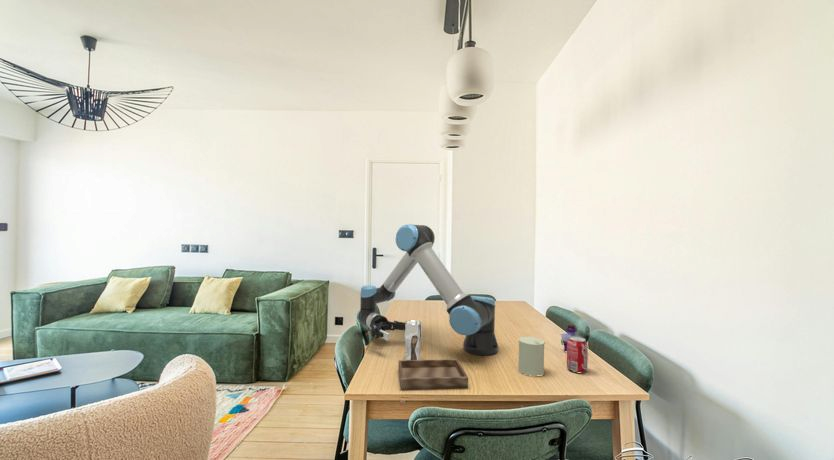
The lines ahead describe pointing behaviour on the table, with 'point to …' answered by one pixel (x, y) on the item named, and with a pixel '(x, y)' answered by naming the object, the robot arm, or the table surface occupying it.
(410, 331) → the beer glass
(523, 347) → the can
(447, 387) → the walnut tray
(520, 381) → the table surface
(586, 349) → the soda can
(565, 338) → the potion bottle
